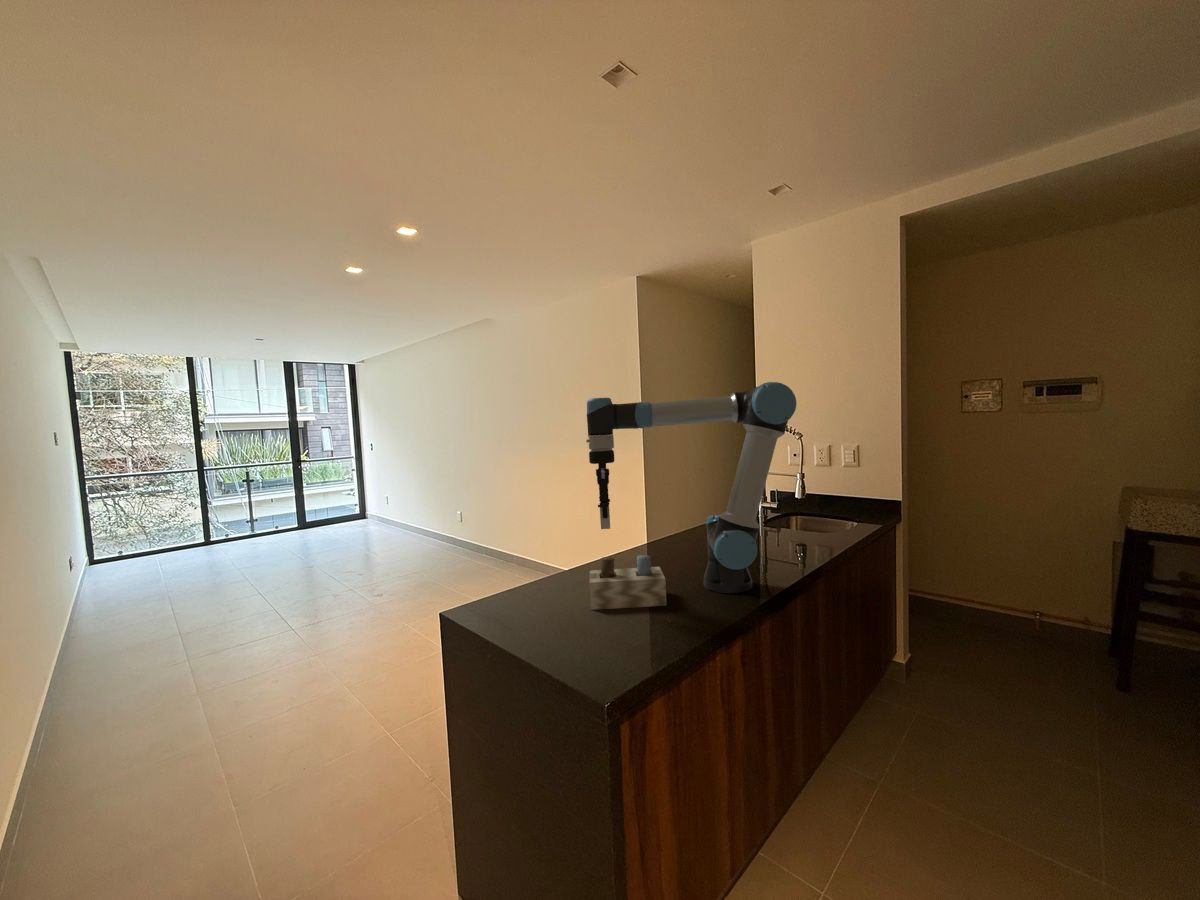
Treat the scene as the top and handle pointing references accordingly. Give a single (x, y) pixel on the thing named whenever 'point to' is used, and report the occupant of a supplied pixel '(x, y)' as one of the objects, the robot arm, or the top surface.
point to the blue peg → (643, 565)
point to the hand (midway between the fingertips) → (605, 526)
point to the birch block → (627, 589)
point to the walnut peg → (607, 567)
